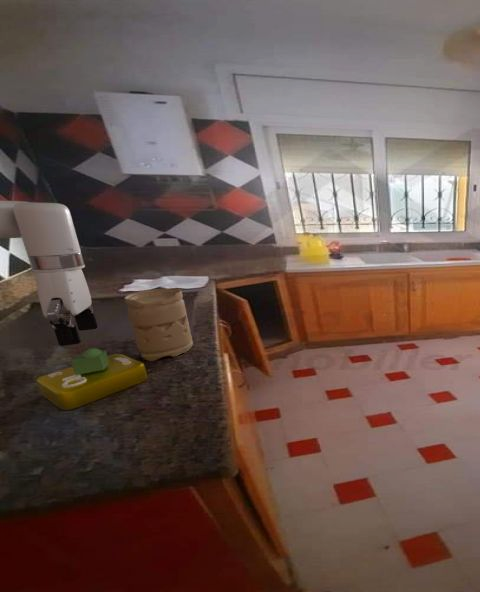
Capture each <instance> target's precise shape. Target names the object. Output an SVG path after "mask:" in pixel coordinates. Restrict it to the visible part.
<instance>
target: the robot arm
mask: <svg viewBox="0 0 480 592" xmlns="http://www.w3.org/2000/svg"><path fill="white" fill-rule="evenodd" d="M77 236H78V235H77V232H76V228H75V226H74V222H73V218H72V214H71V211H70V209H69V208H68V206H67V205H65V204H63V203H58V202H33V201H31V202H30V201H23V200H22V201H21V200H0V240H2V239H22V243H23V245H24V249H25V251H26V255H27V258H28V260H29V264H30V267H31V270H32V272H33V273H35V274H34V278H35V286H36V291H37V295H38V300H39V304H40V308H41V311H42V316H43V317H44V318H45V319H49V324H51V327H52V328H51V329H53V330H54V333H55V337H56V340H57V342H58V346H59V347H66V346H73V345H79V344H81V343H82V340H81V337H80V333H79V331H80V332H81V331H89V330H90V331H91V330H96V329H97V328H98V327H99V326H98V323H97V320H96V315H95V313H94V308H93V306H92V303H93V301H92V296H91V292H90V288H89V286H88V282H87V280H86V277H85V274H84V272H83V270H82V269H84V268H86V265H85V262H84V258H83V254H82V250H81V246H80V243H79V239H78V237H77ZM75 323H76V325H74V324H75Z"/></svg>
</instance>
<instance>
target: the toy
mask: <svg viewBox="0 0 480 592" xmlns="http://www.w3.org/2000/svg"><path fill="white" fill-rule="evenodd" d="M108 356H109V355H108V353H107V350H106V349H105V350H101V349H100V348H97V347H92V348H88V349H85V351H84V352H83V353H81V354H77V356H75V357H74V358H73V359H72V360H70V363H71V367H73V369H74V372H75V375H78V374H84V373H89V372H95V371H100V370H104V369H105V368H106V367H107V365H108V364H109V359H108Z"/></svg>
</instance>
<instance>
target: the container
mask: <svg viewBox="0 0 480 592" xmlns="http://www.w3.org/2000/svg"><path fill="white" fill-rule="evenodd" d="M183 298H184V296H183V290H182V289H181V288H176V287H171V288H170V287H169V288H155V289H147V290H142V291H138V292H133V293H130V294H127V295H125V297H124V303H125V305H126V306H127V314H128V318H129V322H130V325H132V329H133V334H134V337H135V344H136V347H137V349H138V351H139V353H141V354H140V356H141V358H142V359H143V360H145V361H148V362H155V361H157V360H160V359H162V358H165V357H173V358H176V357H175V356H177V357H179V356H178V355H180V354H182V353H184V354H185V353H188V352H189V350H190V349H192V347H193V346H194V341H193V336H192V333H191V332H192V331H191V327H190V323H189V318H188V314H187V309H186V304H185V300H184V299H183ZM187 351H188V352H187ZM182 355H183V354H182ZM180 356H181V355H180Z"/></svg>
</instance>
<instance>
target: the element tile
mask: <svg viewBox="0 0 480 592" xmlns="http://www.w3.org/2000/svg"><path fill="white" fill-rule="evenodd" d="M107 356H108V359H109V364H108V365H107V367H106V368H105V369H104V370H100V371H95V372H89V373H84V374H78V375H75V372H74V369H73V366H70V367H66V368H63V369H61V370H56V371H54V372H51V373H48V374H47V373H46V374H44V375H42V376H40V377H38V378H37V379H36V383H37V386H38V388H39V391H40V394H41V396H42V397H43V398H45V399H46V400H47V401H49V402H51V403H52V404H53V405H55V406H57V407H58V408H59V409H61V410H63V411H72V410H75V409H79V408H81V407H84V406H87V405H88V404H89V405H90V404H92V403H94V402H96V401H99V400H101V399H105V398H107V397H109V396H112V395H114V394H117V393H120V392H122V391H124V390H127V389H130V388H133V387H135V386H137V385H141V384H142V383H144V382H146V381H147V380H148V374H147V370H146V366H145V364H144V362H142V361H139V360H137V359H134V358H133V357H131V356H130V357H129V356H127V355H125V354H124V353H123V354H122V353H112V354H110V355H107Z"/></svg>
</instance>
